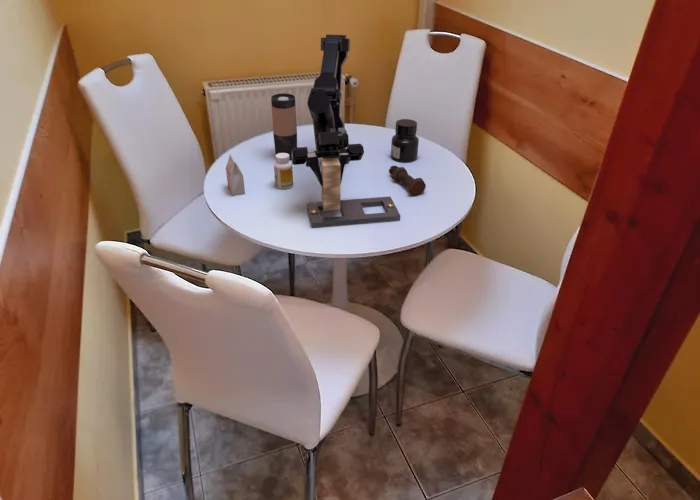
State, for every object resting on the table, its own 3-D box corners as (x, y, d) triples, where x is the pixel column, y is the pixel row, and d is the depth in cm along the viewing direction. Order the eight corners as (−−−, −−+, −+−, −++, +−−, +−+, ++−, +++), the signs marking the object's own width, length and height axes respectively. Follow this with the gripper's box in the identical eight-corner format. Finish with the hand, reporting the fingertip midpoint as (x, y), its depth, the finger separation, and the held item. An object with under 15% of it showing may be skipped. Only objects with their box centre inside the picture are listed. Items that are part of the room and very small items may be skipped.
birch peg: (324, 210, 142) (323, 166, 135) (321, 202, 146) (320, 158, 138) (340, 209, 143) (340, 164, 136) (337, 201, 146) (337, 157, 139)
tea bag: (240, 184, 161) (236, 153, 155) (245, 194, 156) (241, 162, 150) (227, 186, 160) (224, 155, 154) (232, 196, 155) (228, 164, 149)
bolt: (394, 180, 169) (419, 199, 157) (382, 175, 166) (407, 194, 154) (403, 163, 167) (429, 182, 156) (391, 158, 164) (416, 176, 153)
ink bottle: (391, 150, 183) (393, 116, 176) (416, 152, 182) (419, 117, 176) (390, 162, 175) (392, 127, 168) (417, 164, 174) (420, 128, 168)
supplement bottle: (296, 183, 162) (295, 153, 156) (287, 191, 158) (285, 160, 152) (281, 179, 163) (279, 150, 158) (271, 187, 159) (269, 157, 154)
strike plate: (311, 228, 141) (311, 221, 139) (306, 207, 149) (306, 200, 148) (400, 220, 144) (400, 213, 143) (390, 201, 153) (390, 194, 152)
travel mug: (302, 155, 179) (300, 96, 168) (288, 163, 173) (285, 102, 162) (284, 150, 182) (281, 91, 171) (270, 157, 177) (265, 98, 166)
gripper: (290, 118, 134) (296, 177, 131) (363, 114, 136) (371, 172, 134) (289, 135, 144) (295, 191, 142) (357, 131, 147) (364, 186, 145)
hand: (331, 185), depth 140 cm, fingers closed on birch peg, 4 cm apart
